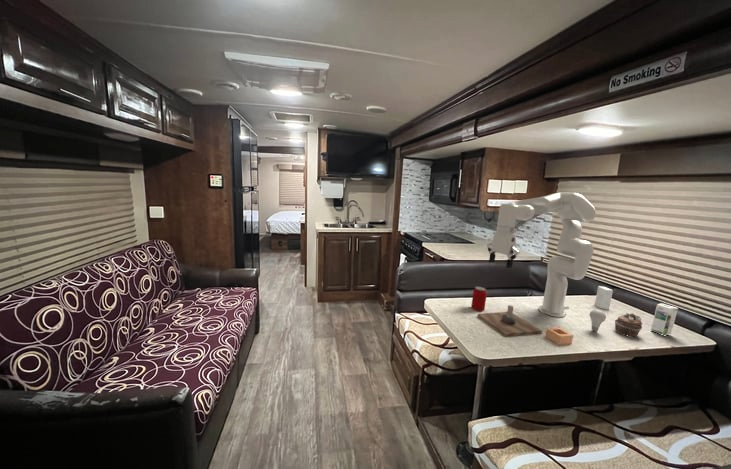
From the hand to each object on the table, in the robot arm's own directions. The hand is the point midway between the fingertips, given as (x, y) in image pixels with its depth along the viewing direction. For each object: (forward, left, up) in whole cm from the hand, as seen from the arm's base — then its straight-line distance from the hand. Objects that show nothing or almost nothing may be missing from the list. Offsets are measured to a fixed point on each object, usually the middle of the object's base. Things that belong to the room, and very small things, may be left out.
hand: (500, 264), depth 137 cm
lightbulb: (-45, +17, -29) cm, 56 cm away
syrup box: (-79, +24, -29) cm, 88 cm away
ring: (-18, +21, -29) cm, 40 cm away
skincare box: (-82, -6, -29) cm, 87 cm away
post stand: (-5, +5, -29) cm, 30 cm away
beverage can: (-1, -13, -29) cm, 32 cm away
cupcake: (-60, +21, -29) cm, 70 cm away
